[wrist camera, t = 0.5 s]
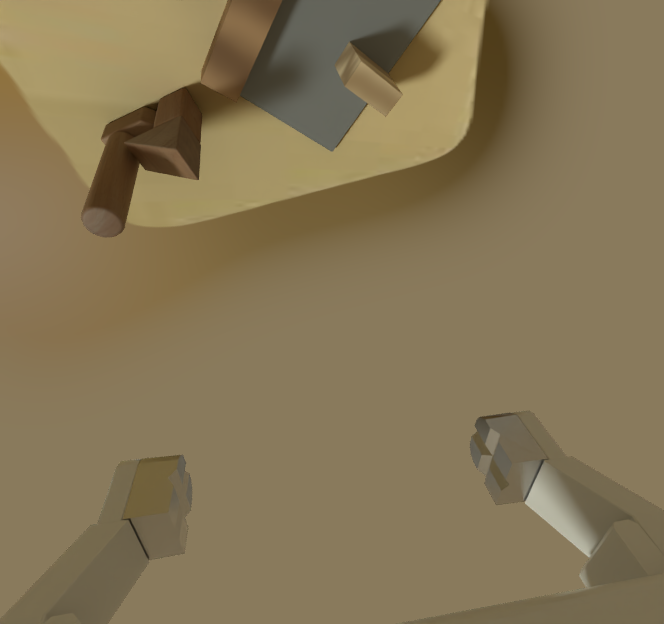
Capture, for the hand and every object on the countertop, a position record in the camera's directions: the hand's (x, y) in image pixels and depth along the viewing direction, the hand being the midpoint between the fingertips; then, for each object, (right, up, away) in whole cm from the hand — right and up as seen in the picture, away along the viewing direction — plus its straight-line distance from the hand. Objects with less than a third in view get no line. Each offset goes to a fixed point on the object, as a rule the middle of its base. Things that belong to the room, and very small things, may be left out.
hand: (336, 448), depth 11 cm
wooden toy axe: (-21, +27, +37) cm, 50 cm away
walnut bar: (-8, +37, +29) cm, 47 cm away
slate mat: (0, +34, +34) cm, 48 cm away
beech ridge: (+3, +32, +36) cm, 48 cm away
